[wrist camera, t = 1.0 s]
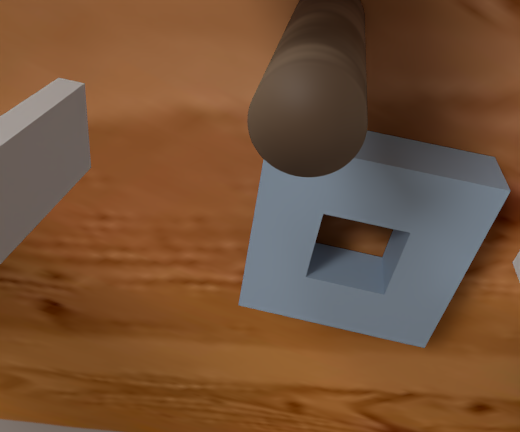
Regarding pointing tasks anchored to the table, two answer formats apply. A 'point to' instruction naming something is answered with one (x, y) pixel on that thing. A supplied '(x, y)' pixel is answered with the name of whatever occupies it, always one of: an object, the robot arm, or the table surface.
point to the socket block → (381, 214)
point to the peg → (314, 91)
